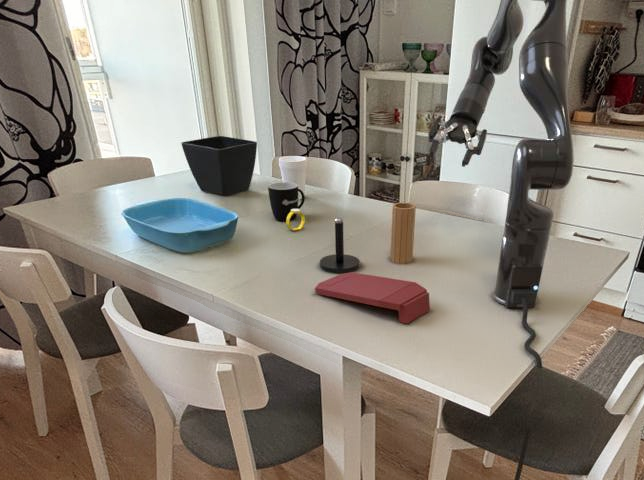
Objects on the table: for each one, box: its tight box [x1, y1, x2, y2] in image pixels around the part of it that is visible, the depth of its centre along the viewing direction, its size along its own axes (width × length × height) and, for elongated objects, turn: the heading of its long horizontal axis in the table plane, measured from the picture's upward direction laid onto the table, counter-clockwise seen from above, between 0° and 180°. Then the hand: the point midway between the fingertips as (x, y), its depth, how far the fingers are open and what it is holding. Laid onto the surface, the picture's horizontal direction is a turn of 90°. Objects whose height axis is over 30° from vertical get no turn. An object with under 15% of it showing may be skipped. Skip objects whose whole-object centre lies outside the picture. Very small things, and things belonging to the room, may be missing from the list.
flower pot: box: [180, 135, 258, 197], centre depth 186 cm, size 19×19×17 cm
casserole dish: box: [121, 197, 239, 254], centre depth 145 cm, size 37×22×7 cm, turn 49°
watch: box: [285, 208, 306, 232], centre depth 152 cm, size 6×3×6 cm, turn 134°
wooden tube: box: [390, 202, 417, 265], centre depth 131 cm, size 6×6×14 cm
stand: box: [319, 217, 361, 274], centre depth 127 cm, size 10×10×12 cm
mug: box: [267, 181, 305, 223], centre depth 161 cm, size 12×9×10 cm
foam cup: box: [278, 155, 308, 200], centre depth 181 cm, size 10×9×13 cm
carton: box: [314, 271, 431, 325], centre depth 114 cm, size 12×5×25 cm
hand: (447, 160), depth 133 cm, fingers open, 8 cm apart
